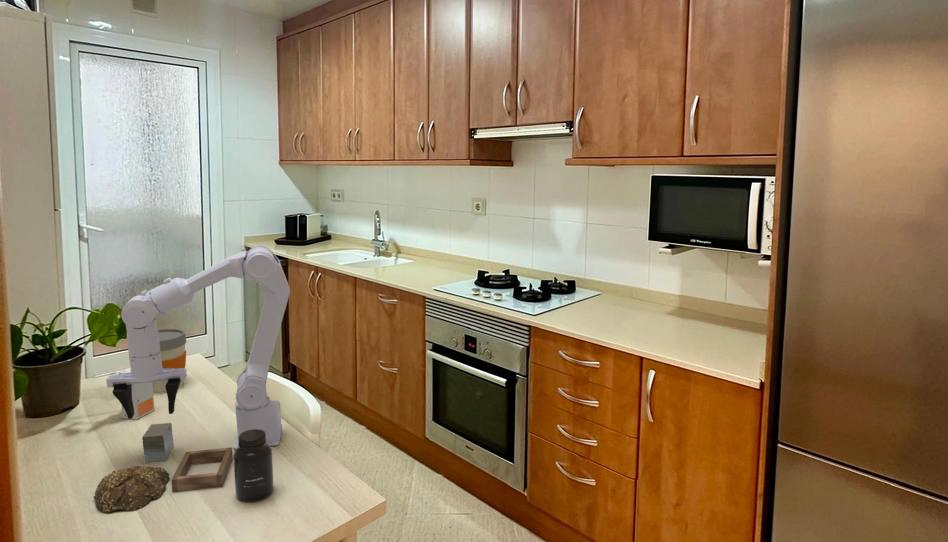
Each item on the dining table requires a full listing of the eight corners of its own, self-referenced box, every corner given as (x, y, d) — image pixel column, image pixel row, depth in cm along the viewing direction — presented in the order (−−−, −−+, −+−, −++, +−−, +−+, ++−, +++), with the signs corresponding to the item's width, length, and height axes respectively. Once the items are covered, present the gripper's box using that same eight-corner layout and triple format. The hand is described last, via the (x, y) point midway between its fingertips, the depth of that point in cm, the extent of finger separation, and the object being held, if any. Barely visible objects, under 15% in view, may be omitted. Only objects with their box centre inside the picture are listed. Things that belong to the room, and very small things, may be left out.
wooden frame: (232, 458, 122) (232, 447, 121) (222, 486, 111) (221, 474, 111) (187, 462, 120) (186, 451, 119) (172, 491, 109) (171, 479, 109)
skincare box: (137, 420, 139) (132, 373, 137) (122, 418, 140) (117, 372, 138) (155, 410, 145) (151, 365, 143) (141, 408, 146) (136, 363, 143)
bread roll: (102, 483, 112) (99, 460, 112) (172, 472, 117) (170, 449, 116) (84, 521, 101) (81, 495, 100) (163, 507, 105) (161, 482, 104)
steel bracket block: (154, 449, 125) (151, 424, 124) (173, 448, 126) (171, 422, 125) (145, 463, 119) (142, 437, 118) (165, 461, 120) (163, 435, 119)
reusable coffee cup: (183, 374, 168) (179, 326, 166) (195, 388, 159) (190, 336, 156) (135, 385, 161) (129, 333, 158) (144, 399, 151) (138, 345, 148)
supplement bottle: (251, 507, 105) (247, 447, 102) (228, 495, 108) (223, 437, 106) (281, 489, 110) (278, 432, 108) (258, 479, 114) (255, 423, 112)
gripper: (186, 344, 124) (192, 402, 127) (110, 350, 120) (117, 411, 123) (181, 354, 118) (187, 415, 120) (100, 361, 113) (108, 425, 116)
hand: (151, 414), depth 121 cm, fingers open, 7 cm apart
